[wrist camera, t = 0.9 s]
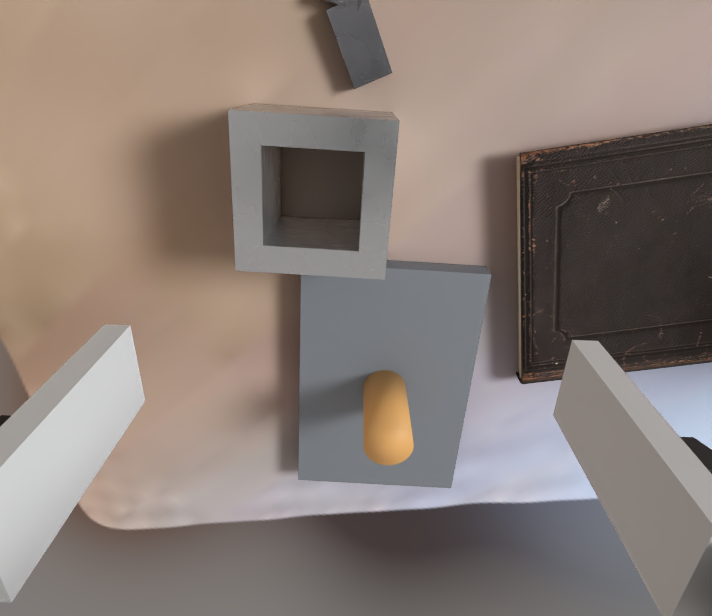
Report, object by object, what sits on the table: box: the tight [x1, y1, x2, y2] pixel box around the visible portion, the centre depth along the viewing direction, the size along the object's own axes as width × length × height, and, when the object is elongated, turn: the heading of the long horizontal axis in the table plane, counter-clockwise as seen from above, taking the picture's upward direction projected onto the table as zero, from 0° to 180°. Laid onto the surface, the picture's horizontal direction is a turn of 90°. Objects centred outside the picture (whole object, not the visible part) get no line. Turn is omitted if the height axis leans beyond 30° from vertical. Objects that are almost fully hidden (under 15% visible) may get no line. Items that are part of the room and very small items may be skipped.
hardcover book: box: [516, 124, 712, 384], centre depth 31 cm, size 16×23×2 cm
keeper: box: [298, 260, 492, 488], centre depth 33 cm, size 18×12×8 cm, turn 177°
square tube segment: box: [228, 103, 399, 280], centre depth 27 cm, size 8×8×6 cm
